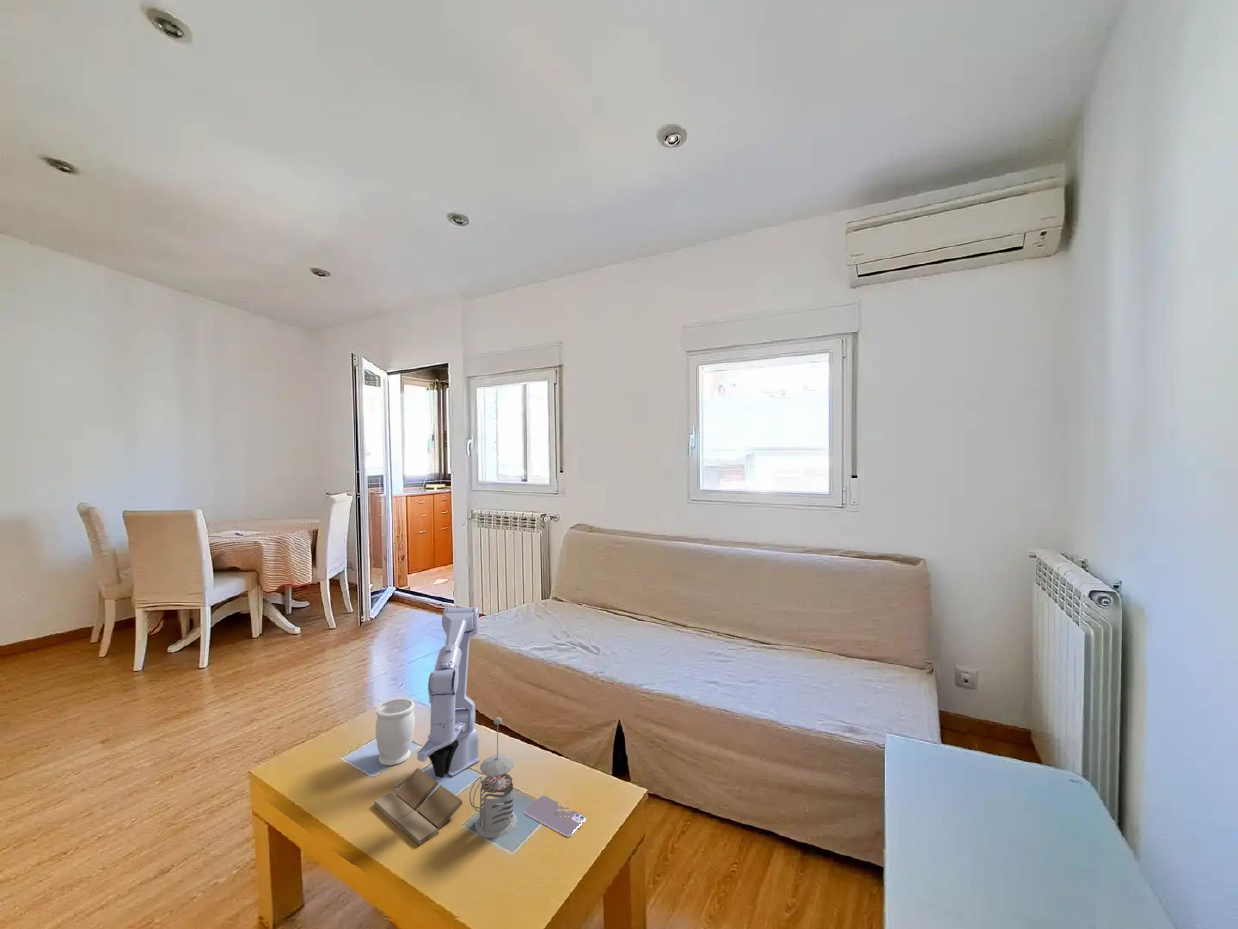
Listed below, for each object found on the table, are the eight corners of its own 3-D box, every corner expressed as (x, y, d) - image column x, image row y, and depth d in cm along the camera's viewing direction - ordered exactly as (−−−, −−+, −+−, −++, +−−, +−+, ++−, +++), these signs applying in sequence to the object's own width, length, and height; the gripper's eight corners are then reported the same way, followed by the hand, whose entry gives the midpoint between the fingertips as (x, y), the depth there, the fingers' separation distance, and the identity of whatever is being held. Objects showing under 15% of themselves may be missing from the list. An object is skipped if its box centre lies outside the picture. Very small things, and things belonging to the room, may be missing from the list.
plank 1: (419, 770, 129) (417, 767, 128) (438, 784, 123) (436, 781, 123) (397, 795, 124) (394, 793, 123) (415, 811, 118) (413, 808, 118)
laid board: (392, 795, 124) (392, 790, 124) (438, 833, 111) (438, 828, 111) (374, 805, 120) (374, 800, 120) (419, 846, 107) (419, 840, 107)
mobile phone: (543, 793, 125) (589, 816, 117) (543, 797, 125) (589, 820, 116) (522, 810, 118) (569, 836, 110) (522, 814, 118) (569, 840, 110)
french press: (525, 822, 115) (526, 718, 115) (481, 849, 107) (483, 736, 107) (503, 802, 122) (504, 703, 122) (460, 826, 114) (462, 720, 114)
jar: (421, 754, 142) (422, 704, 142) (388, 773, 133) (389, 719, 133) (400, 743, 147) (401, 694, 148) (367, 760, 139) (368, 708, 139)
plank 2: (441, 788, 123) (440, 785, 123) (462, 803, 118) (461, 800, 117) (418, 813, 118) (416, 809, 117) (438, 830, 112) (437, 826, 112)
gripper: (450, 702, 126) (449, 754, 126) (407, 730, 113) (406, 788, 113) (472, 708, 124) (471, 761, 124) (431, 736, 110) (430, 796, 110)
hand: (441, 774), depth 118 cm, fingers closed
